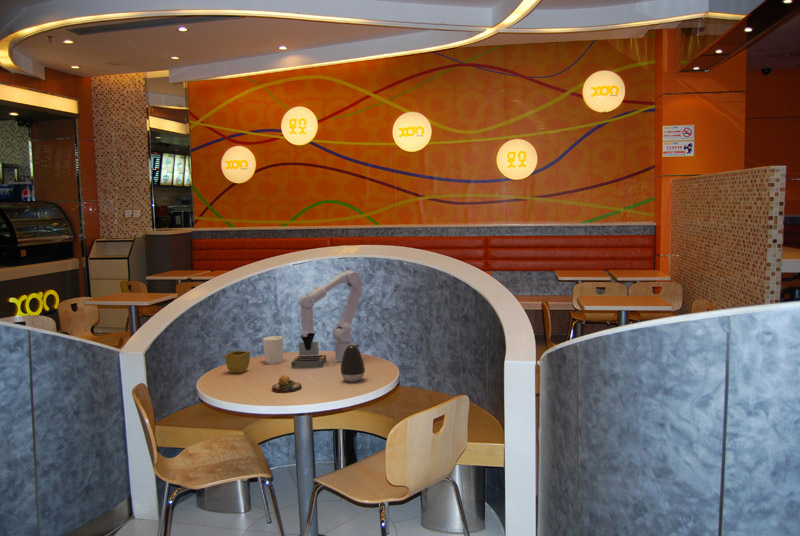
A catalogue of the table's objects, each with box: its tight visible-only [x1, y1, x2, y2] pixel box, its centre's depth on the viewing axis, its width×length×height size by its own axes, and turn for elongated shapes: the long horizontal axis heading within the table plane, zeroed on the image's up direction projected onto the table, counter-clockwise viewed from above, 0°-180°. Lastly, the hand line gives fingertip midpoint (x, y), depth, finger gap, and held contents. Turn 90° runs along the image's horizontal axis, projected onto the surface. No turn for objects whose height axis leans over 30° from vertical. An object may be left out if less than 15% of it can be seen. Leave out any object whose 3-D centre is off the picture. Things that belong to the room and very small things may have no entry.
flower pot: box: [223, 350, 251, 374], centre depth 284 cm, size 9×9×9 cm
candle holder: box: [262, 335, 284, 365], centre depth 302 cm, size 10×10×12 cm
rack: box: [290, 354, 327, 369], centre depth 294 cm, size 14×14×3 cm
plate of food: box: [271, 374, 302, 394], centre depth 251 cm, size 12×12×8 cm
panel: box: [298, 341, 320, 356], centre depth 293 cm, size 9×2×6 cm, turn 87°
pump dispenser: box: [340, 344, 366, 383], centre depth 260 cm, size 10×10×15 cm
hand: (308, 349), depth 293 cm, fingers closed on panel, 2 cm apart
